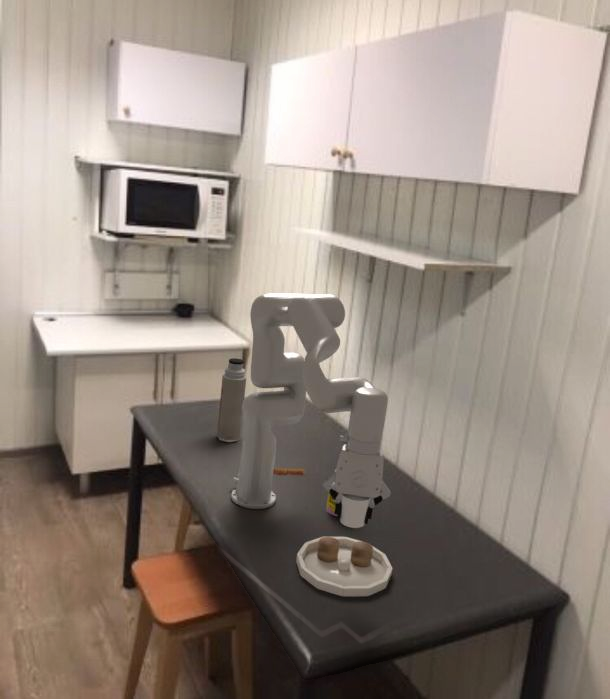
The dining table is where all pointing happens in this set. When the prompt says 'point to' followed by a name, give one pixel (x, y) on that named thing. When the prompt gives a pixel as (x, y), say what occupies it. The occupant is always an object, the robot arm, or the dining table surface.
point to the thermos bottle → (232, 400)
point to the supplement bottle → (331, 503)
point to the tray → (343, 570)
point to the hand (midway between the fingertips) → (352, 518)
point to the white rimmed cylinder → (354, 510)
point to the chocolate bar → (289, 471)
